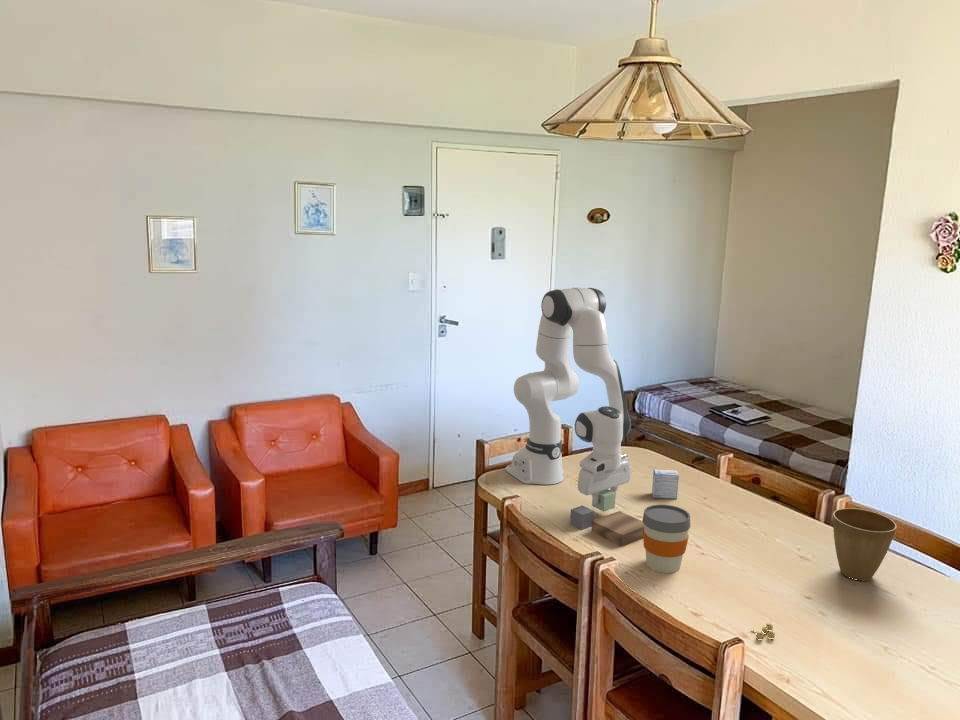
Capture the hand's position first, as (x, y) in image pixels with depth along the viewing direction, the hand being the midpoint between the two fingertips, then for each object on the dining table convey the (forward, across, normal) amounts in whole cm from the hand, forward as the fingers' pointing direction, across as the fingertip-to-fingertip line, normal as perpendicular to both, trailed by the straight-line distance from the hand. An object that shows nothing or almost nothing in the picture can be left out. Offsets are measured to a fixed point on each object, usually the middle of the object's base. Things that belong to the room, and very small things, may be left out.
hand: (603, 501), depth 232 cm
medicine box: (+5, -28, +1) cm, 29 cm away
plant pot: (+4, -28, +66) cm, 72 cm away
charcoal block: (+5, +11, +2) cm, 12 cm away
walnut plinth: (+5, +6, +13) cm, 15 cm away
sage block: (+2, 0, 0) cm, 2 cm away
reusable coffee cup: (+4, +11, +33) cm, 35 cm away
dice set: (+4, +18, +68) cm, 71 cm away
